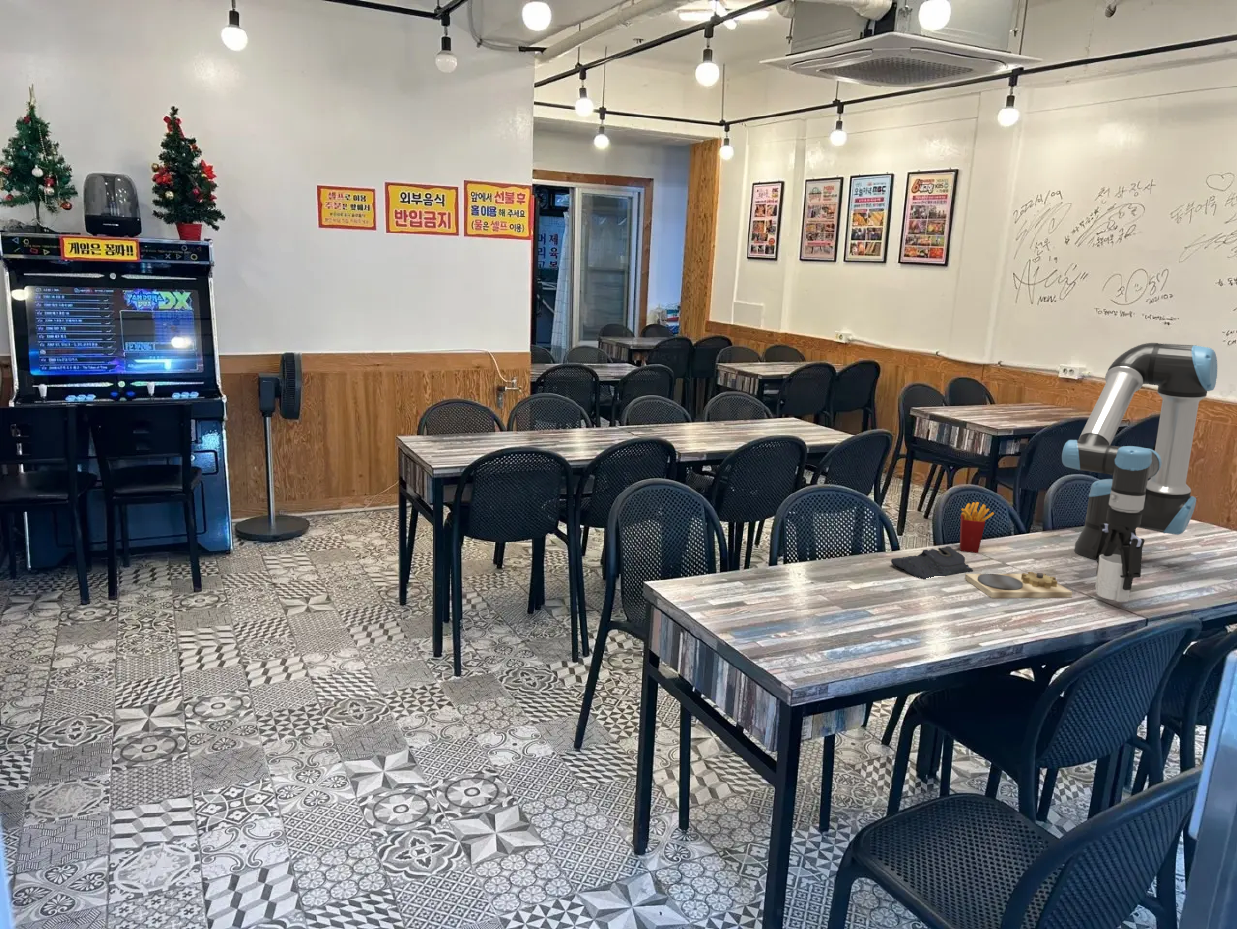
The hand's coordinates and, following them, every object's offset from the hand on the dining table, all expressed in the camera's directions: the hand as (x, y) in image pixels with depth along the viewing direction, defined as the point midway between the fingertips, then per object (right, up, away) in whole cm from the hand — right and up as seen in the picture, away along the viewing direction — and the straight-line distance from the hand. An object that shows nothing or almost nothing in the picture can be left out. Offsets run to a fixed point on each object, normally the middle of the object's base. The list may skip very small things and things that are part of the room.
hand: (1111, 594), depth 222 cm
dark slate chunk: (-38, +4, +25) cm, 45 cm away
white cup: (0, 0, 0) cm, 1 cm away
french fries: (-18, +7, +42) cm, 47 cm away
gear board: (-20, 0, +10) cm, 22 cm away
